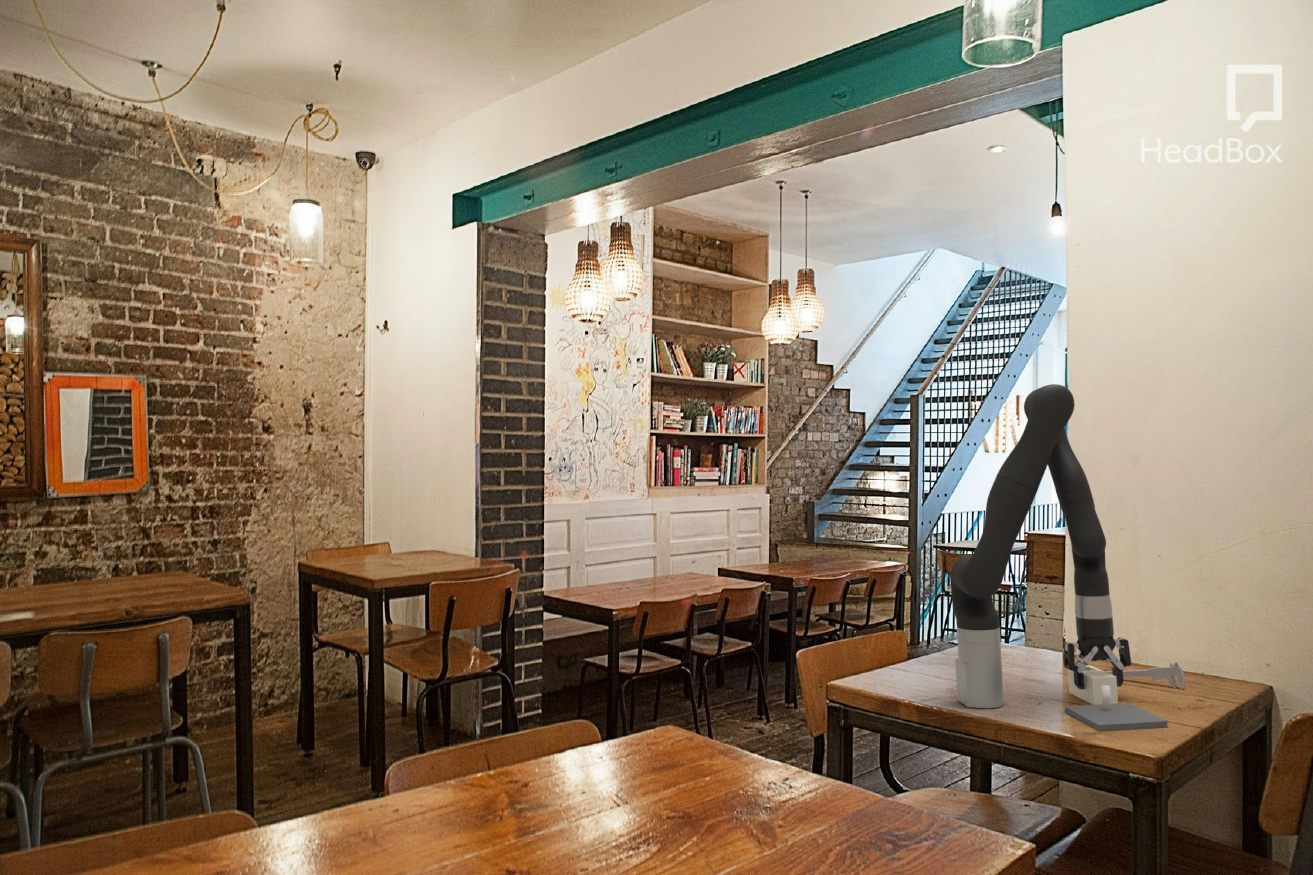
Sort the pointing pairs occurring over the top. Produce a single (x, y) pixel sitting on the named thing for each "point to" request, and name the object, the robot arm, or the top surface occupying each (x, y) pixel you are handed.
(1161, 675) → the caliper
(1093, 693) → the socket block
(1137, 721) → the pin plate
